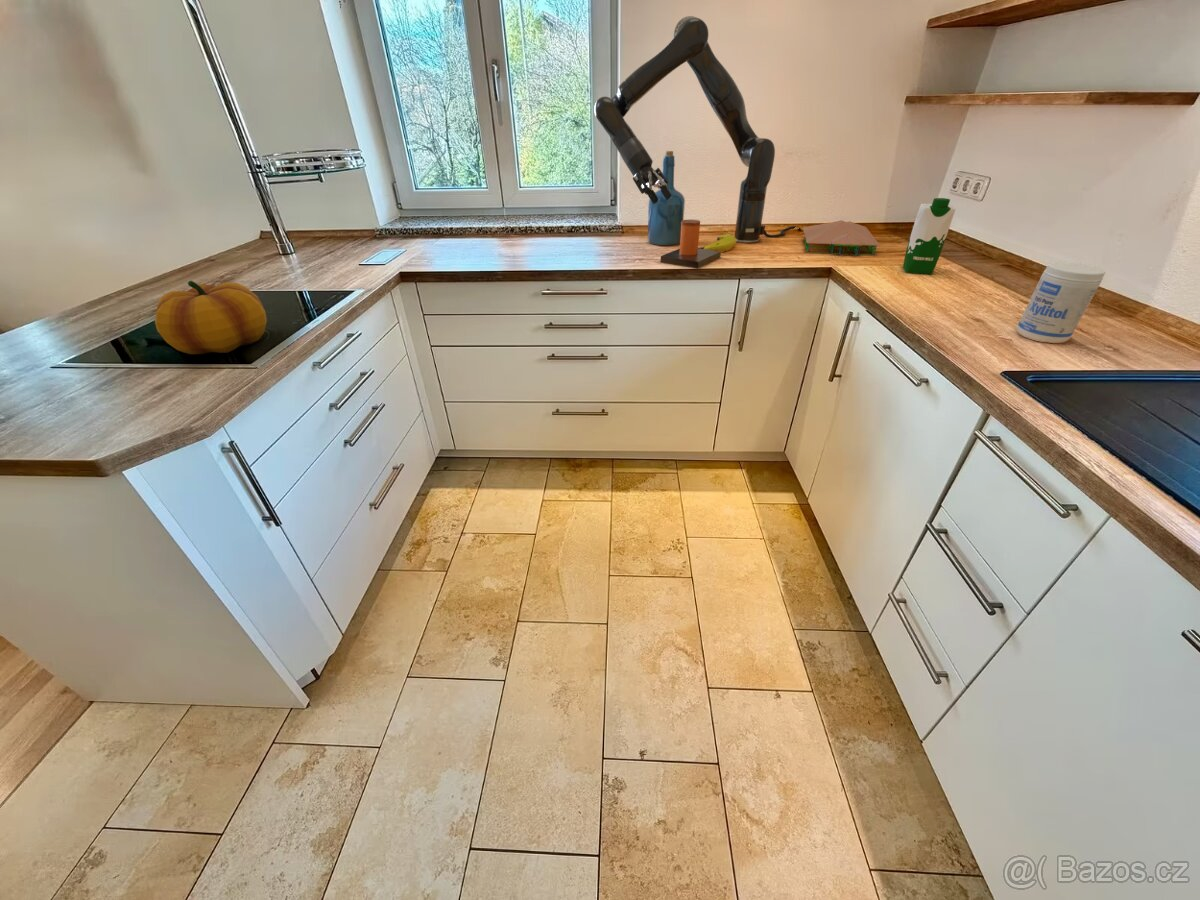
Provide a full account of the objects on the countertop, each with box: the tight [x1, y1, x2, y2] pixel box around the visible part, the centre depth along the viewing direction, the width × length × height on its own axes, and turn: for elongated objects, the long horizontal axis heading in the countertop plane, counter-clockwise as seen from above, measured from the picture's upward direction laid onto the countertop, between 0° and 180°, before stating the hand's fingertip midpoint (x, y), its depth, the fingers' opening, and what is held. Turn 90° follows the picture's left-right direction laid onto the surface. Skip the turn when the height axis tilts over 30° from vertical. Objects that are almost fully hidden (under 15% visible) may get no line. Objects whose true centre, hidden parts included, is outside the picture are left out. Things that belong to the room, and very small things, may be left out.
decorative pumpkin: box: [154, 280, 268, 355], centre depth 113 cm, size 20×22×15 cm
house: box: [802, 220, 881, 257], centre depth 181 cm, size 23×33×8 cm
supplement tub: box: [1016, 261, 1106, 344], centre depth 107 cm, size 10×10×15 cm
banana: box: [698, 233, 738, 253], centre depth 184 cm, size 5×17×15 cm
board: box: [660, 247, 722, 269], centre depth 171 cm, size 16×14×2 cm
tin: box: [679, 219, 701, 256], centre depth 168 cm, size 6×6×10 cm
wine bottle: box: [647, 150, 686, 246], centre depth 185 cm, size 14×13×30 cm
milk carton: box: [902, 197, 956, 275], centre depth 149 cm, size 9×9×20 cm
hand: (663, 200), depth 167 cm, fingers open, 8 cm apart
